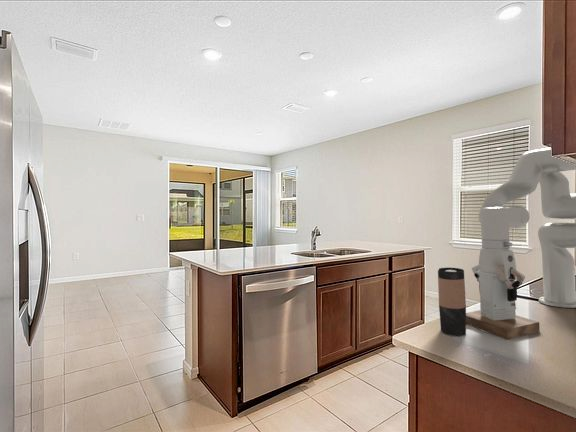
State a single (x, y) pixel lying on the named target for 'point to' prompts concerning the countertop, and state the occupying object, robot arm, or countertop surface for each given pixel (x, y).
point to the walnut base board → (503, 325)
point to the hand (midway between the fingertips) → (497, 297)
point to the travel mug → (452, 301)
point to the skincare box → (495, 298)
